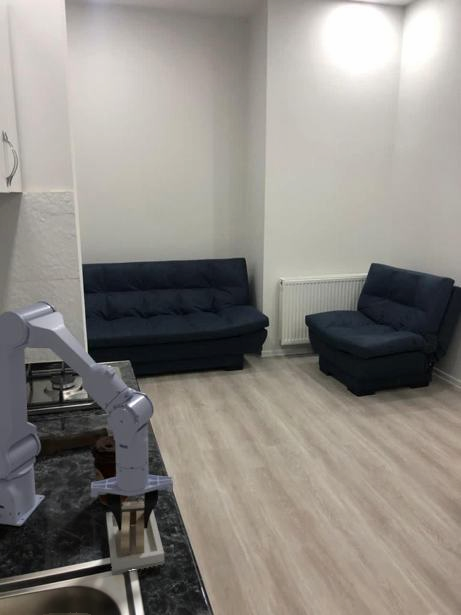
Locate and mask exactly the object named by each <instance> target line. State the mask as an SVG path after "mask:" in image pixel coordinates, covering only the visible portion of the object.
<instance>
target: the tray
mask: <svg viewBox="0 0 461 615" xmlns="http://www.w3.org/2000/svg"><path fill="white" fill-rule="evenodd" d="M154 512H155V511H154V509H153V510H152V513H151V515H150V518H149V522H148V528H145V529H144V553H142V554H137V555H136V525H131V526H130V553H129V555H126V556H121V531H119V529H118V525H117V522H116V519H115V517H114V515H113V513H112V512H111V511H109V512H108V511H107V512H106V513H105V514H106V515H105V517H106V518H105V520H106V530H107V531H106V532H107V540H108V541H107V542H108V547H109V550H108V551H109V556H110V557H109V558H111V559H110V566H111V567H112V568H111V574H112V576H116V575H119V574H125V573H124V572H126V571H128V570H132V569H141V570H145V569H144V568H146V569H150V568H149V567H151V568H154V567H153V566H156V567H159V566H158V565H161V566H164V565H165V551H164V547H163V544H162V539H161V535H160V532H159V528H158V524H157V520H156V516H155V513H154ZM163 564H164V565H163ZM126 573H127V572H126Z"/></svg>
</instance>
